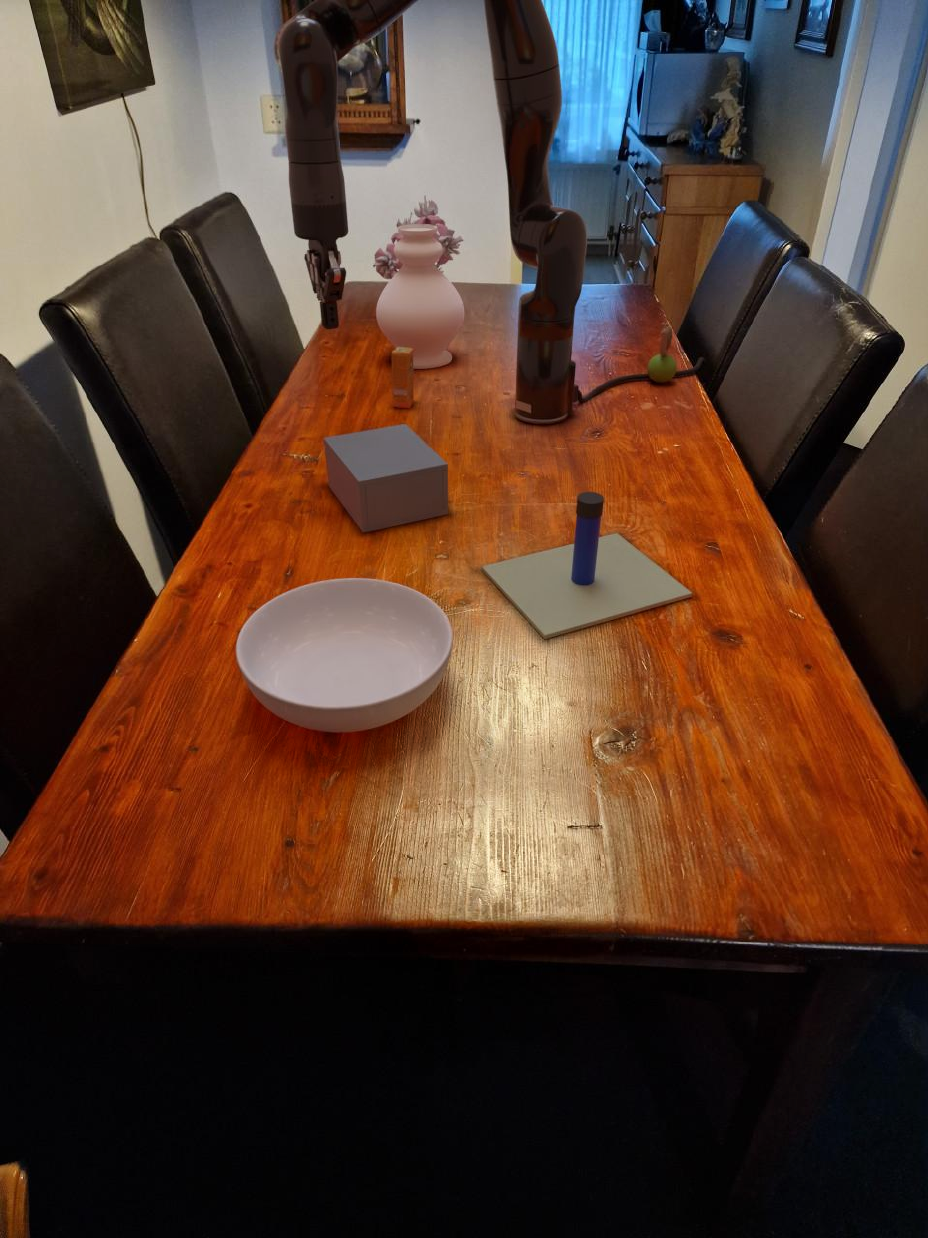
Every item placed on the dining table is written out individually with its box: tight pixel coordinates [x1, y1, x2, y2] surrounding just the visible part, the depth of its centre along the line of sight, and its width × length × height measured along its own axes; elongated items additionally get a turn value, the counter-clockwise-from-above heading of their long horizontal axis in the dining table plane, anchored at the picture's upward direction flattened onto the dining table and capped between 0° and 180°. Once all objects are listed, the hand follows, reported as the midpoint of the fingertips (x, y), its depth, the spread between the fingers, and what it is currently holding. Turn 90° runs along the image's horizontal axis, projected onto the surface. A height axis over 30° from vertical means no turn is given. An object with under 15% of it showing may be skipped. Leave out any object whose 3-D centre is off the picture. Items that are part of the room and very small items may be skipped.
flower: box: [372, 195, 465, 280], centre depth 193 cm, size 20×22×25 cm
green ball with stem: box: [646, 322, 678, 384], centre depth 154 cm, size 5×6×12 cm
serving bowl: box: [235, 577, 454, 733], centre depth 81 cm, size 21×21×7 cm
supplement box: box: [391, 347, 414, 409], centre depth 145 cm, size 3×3×10 cm
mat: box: [481, 532, 693, 640], centre depth 99 cm, size 20×16×1 cm
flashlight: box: [571, 491, 605, 585], centre depth 96 cm, size 3×3×11 cm
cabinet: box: [323, 423, 449, 534], centre depth 115 cm, size 16×13×8 cm
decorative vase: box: [375, 223, 466, 370], centre depth 162 cm, size 18×18×25 cm
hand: (330, 327), depth 122 cm, fingers closed
